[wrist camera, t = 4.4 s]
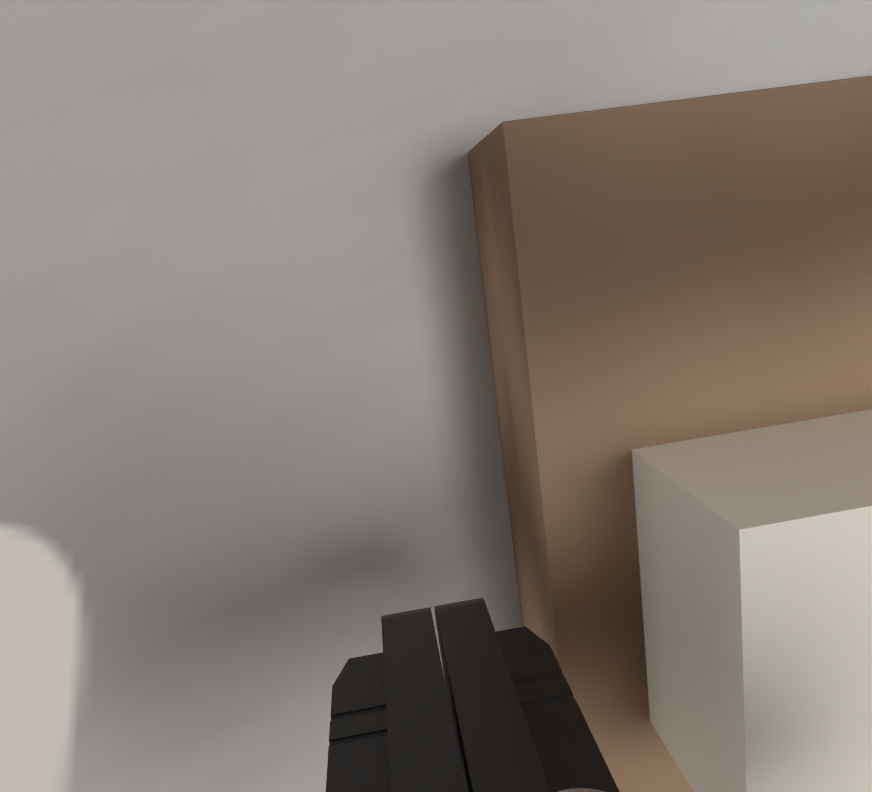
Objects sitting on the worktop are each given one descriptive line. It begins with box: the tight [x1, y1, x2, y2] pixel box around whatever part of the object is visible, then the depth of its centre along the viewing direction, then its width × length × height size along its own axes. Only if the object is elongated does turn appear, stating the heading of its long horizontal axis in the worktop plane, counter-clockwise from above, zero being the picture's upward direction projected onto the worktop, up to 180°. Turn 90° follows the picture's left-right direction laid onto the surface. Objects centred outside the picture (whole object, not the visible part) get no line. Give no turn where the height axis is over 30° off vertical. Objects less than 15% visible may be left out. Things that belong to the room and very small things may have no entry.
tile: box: [632, 409, 872, 792], centre depth 10 cm, size 5×5×3 cm
